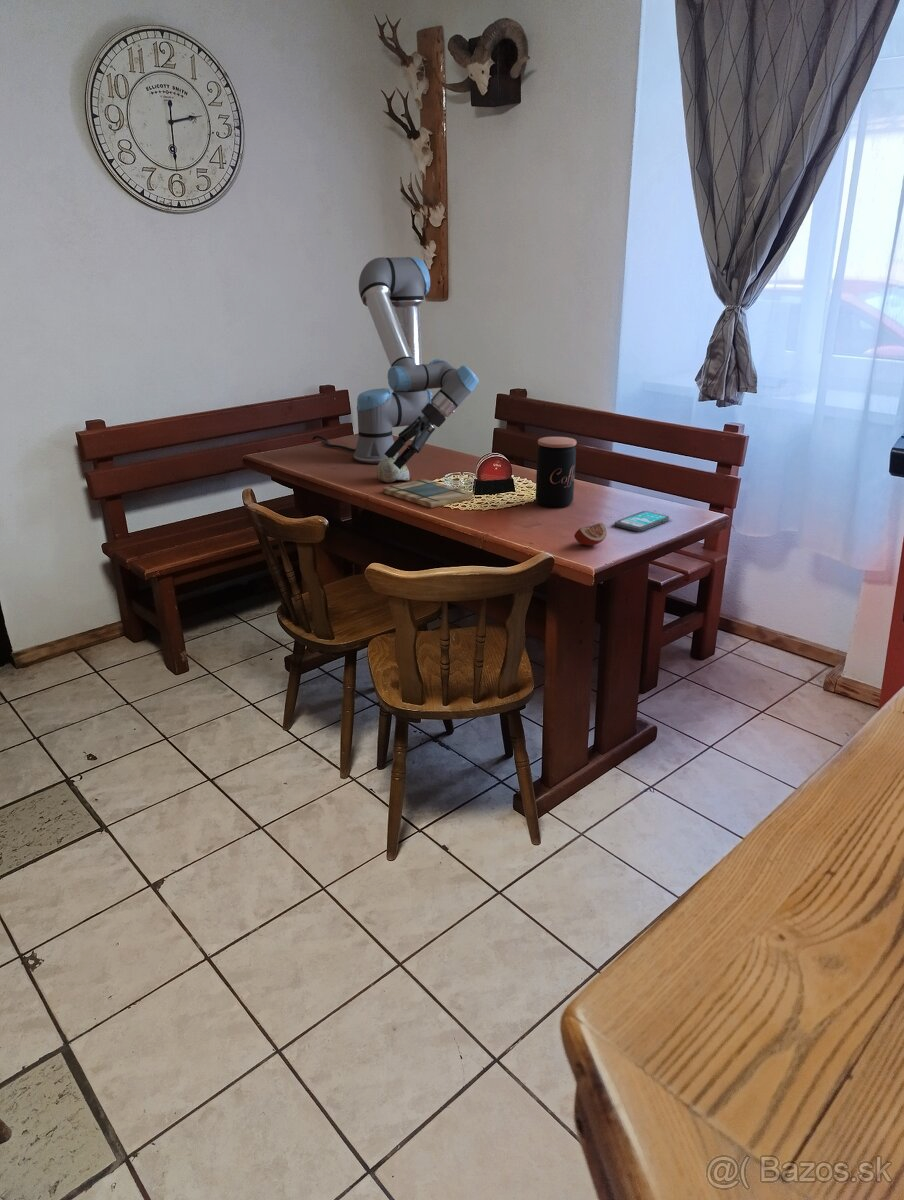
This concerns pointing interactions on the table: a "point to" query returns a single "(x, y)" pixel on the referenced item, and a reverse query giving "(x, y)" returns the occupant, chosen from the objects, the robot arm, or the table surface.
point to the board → (427, 493)
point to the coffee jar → (555, 471)
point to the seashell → (391, 471)
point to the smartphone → (641, 521)
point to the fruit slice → (591, 534)
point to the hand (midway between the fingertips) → (391, 461)
